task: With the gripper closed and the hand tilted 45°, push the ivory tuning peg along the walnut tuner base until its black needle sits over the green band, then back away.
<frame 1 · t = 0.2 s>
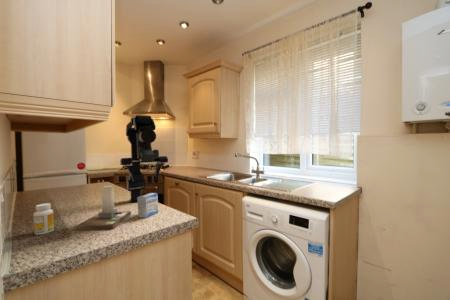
hand: (145, 180, 92), 15 cm above the worktop, tool pointing down, fingers open, 9 cm apart
medicine box: (148, 215, 92), on the worktop
tuning peg: (111, 201, 86), point 8 cm above the worktop, slide at 0.0 cm
tuner base: (105, 221, 84), on the worktop
supplement bottle: (44, 232, 76), on the worktop
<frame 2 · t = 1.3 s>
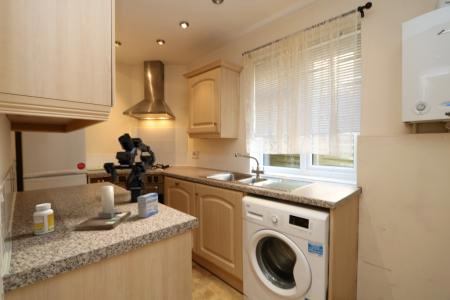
hand: (120, 182, 98), 13 cm above the worktop, tool tilted 45°, fingers open, 7 cm apart
nothing on the worktop moved.
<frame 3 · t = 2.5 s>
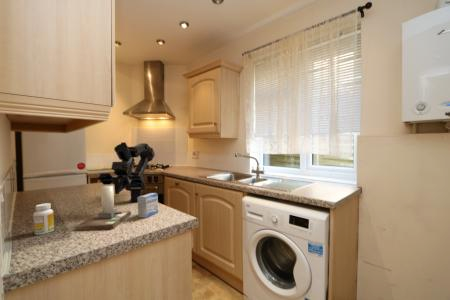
hand: (116, 193, 93), 9 cm above the worktop, tool tilted 45°, fingers closed
nothing on the worktop moved.
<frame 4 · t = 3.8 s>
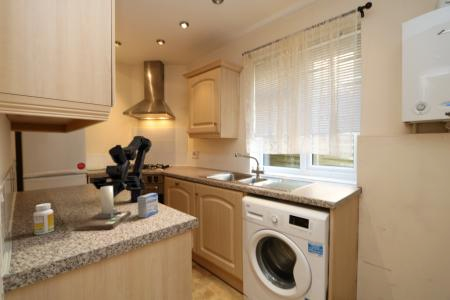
hand: (110, 199, 88), 8 cm above the worktop, tool tilted 45°, fingers closed, pressing on tuning peg
tuning peg: (110, 201, 86), point 8 cm above the worktop, slide at 0.4 cm, touching gripper
everything else where it was.
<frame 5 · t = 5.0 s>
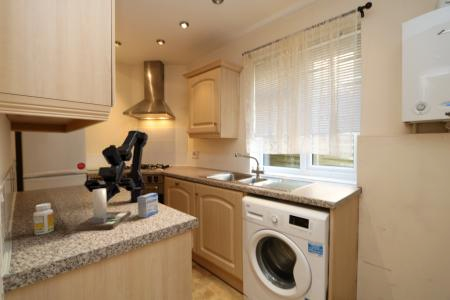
hand: (103, 203, 83), 8 cm above the worktop, tool tilted 45°, fingers closed, pressing on tuning peg
tuning peg: (103, 205, 80), point 8 cm above the worktop, slide at 5.8 cm, touching gripper
everything else where it was.
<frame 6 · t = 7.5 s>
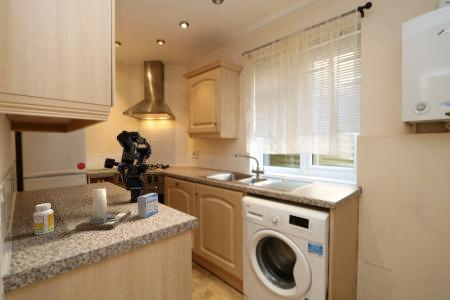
hand: (123, 182, 98), 13 cm above the worktop, tool tilted 30°, fingers closed
tuning peg: (103, 205, 80), point 8 cm above the worktop, slide at 5.8 cm
everything else where it was.
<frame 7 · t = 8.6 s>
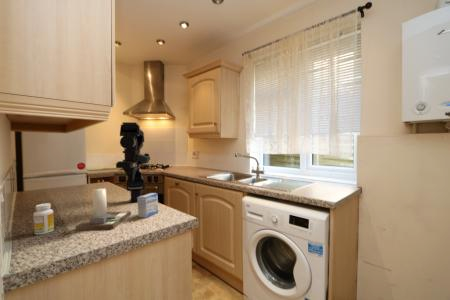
hand: (131, 181, 102), 13 cm above the worktop, tool pointing down, fingers closed
nothing on the worktop moved.
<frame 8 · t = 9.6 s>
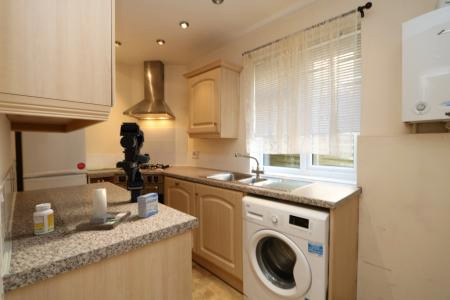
hand: (131, 181, 102), 13 cm above the worktop, tool pointing down, fingers closed
nothing on the worktop moved.
at the end: tuning peg slide at 5.8 cm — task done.
